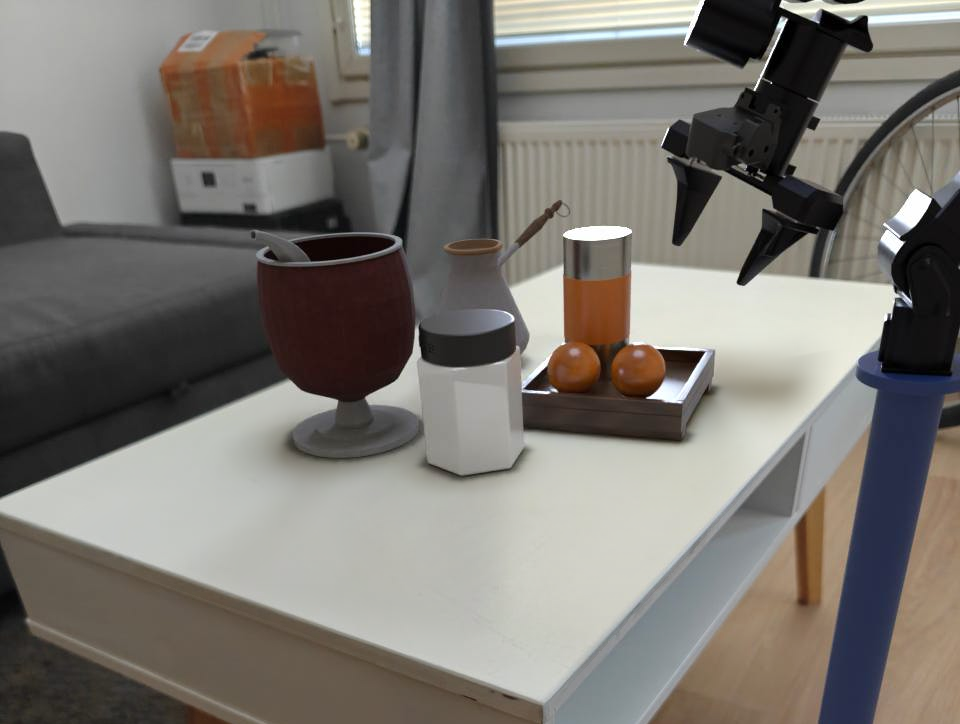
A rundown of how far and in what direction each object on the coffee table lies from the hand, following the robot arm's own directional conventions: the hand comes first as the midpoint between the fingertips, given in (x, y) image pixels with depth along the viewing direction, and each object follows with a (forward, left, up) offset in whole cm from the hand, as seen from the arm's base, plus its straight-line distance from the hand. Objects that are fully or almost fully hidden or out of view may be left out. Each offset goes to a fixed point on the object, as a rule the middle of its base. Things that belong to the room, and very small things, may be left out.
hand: (707, 264), depth 90 cm
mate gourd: (+29, +23, -12) cm, 39 cm away
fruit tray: (+6, +10, -11) cm, 16 cm away
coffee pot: (+23, -5, -12) cm, 27 cm away
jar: (+15, +25, -12) cm, 31 cm away
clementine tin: (+9, +7, -9) cm, 14 cm away
